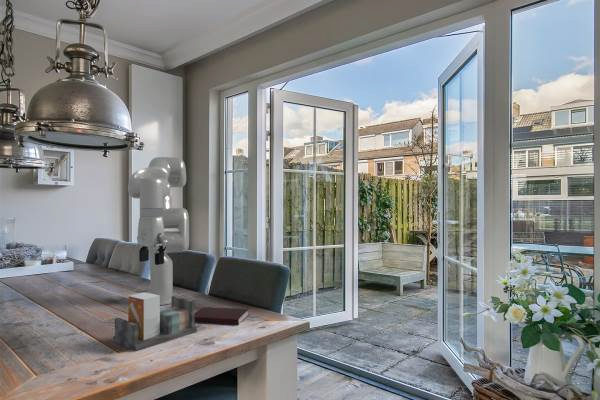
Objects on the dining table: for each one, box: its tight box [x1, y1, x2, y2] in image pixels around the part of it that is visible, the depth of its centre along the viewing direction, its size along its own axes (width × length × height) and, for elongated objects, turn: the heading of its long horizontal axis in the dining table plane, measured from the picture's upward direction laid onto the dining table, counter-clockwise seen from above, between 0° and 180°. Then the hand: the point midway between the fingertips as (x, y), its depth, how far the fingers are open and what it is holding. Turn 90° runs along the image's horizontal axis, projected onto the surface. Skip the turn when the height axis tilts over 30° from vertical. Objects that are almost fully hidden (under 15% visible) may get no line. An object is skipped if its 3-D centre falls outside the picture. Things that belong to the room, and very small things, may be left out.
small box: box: [127, 292, 161, 340], centre depth 125 cm, size 8×6×13 cm
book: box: [195, 306, 250, 326], centre depth 147 cm, size 12×19×3 cm, turn 79°
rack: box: [112, 295, 197, 352], centre depth 128 cm, size 14×22×10 cm, turn 142°
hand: (151, 262), depth 133 cm, fingers open, 9 cm apart
